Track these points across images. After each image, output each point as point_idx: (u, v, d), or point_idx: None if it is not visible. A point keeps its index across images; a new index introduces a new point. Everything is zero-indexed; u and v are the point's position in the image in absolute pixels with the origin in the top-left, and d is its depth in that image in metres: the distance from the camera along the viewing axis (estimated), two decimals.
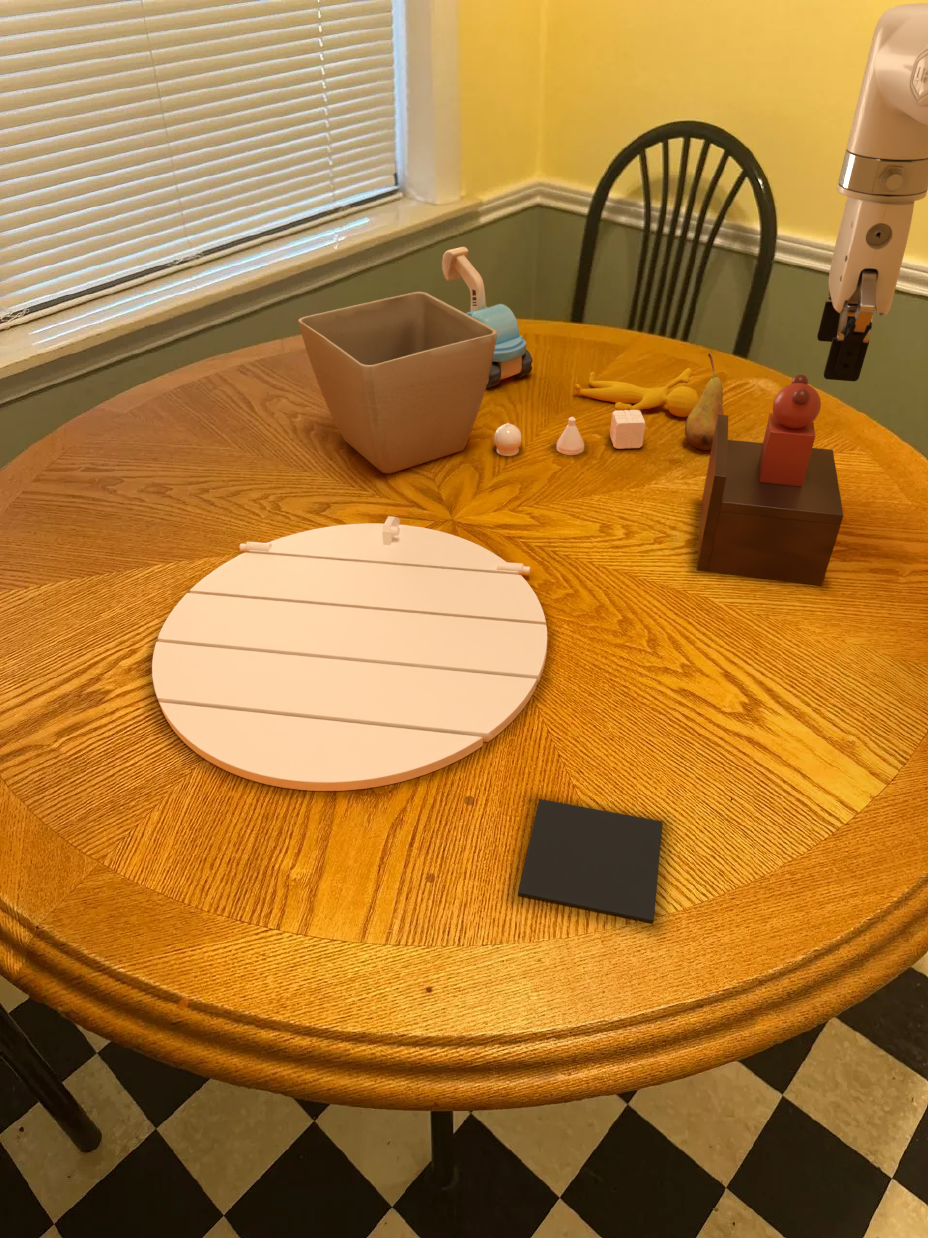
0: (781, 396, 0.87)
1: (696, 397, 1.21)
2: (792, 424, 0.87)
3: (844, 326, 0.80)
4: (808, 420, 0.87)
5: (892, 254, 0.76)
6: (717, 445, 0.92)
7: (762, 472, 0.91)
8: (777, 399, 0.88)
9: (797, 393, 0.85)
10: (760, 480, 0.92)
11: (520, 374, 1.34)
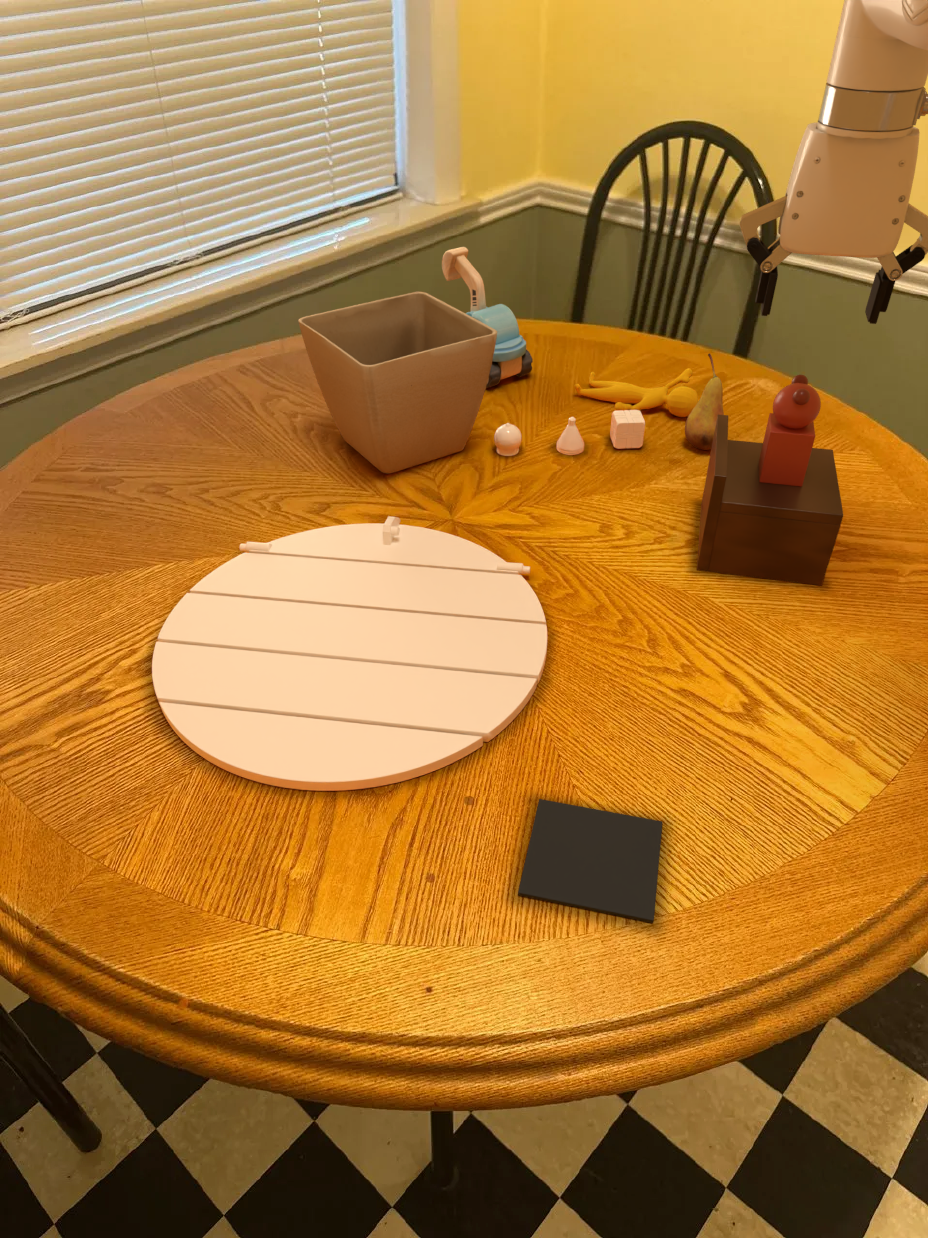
0: (781, 396, 0.87)
1: (696, 397, 1.21)
2: (792, 424, 0.87)
3: (898, 263, 0.77)
4: (808, 420, 0.87)
5: None
6: (717, 445, 0.92)
7: (762, 472, 0.91)
8: (777, 399, 0.88)
9: (797, 393, 0.85)
10: (760, 480, 0.92)
11: (520, 374, 1.34)
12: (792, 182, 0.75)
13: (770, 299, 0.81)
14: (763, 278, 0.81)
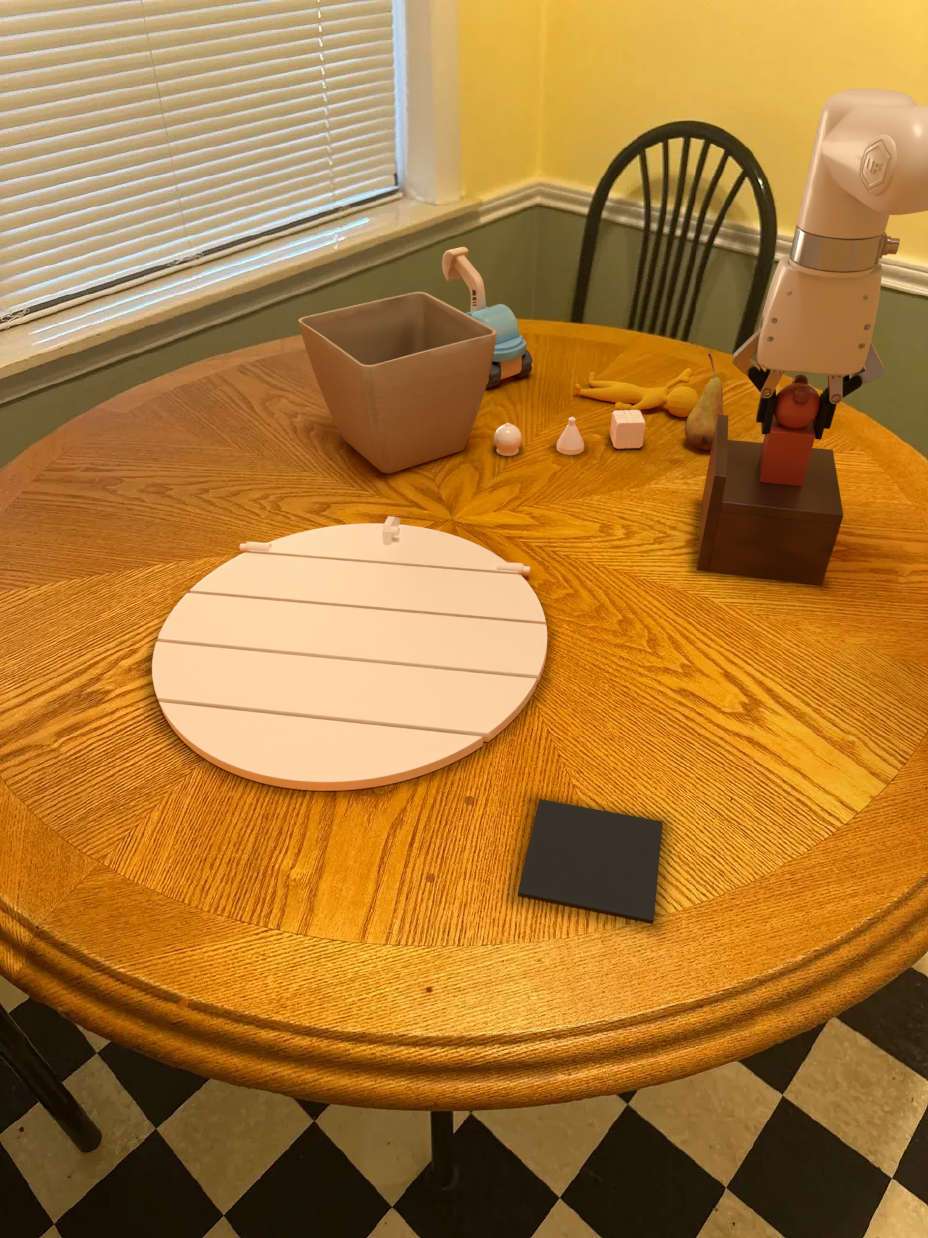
0: (781, 396, 0.87)
1: (696, 397, 1.21)
2: (792, 424, 0.87)
3: None
4: (808, 420, 0.87)
5: None
6: (717, 445, 0.92)
7: (762, 472, 0.91)
8: (778, 398, 0.88)
9: (797, 393, 0.85)
10: (760, 480, 0.92)
11: (520, 374, 1.34)
12: (767, 309, 0.82)
13: (769, 421, 0.88)
14: (763, 402, 0.88)
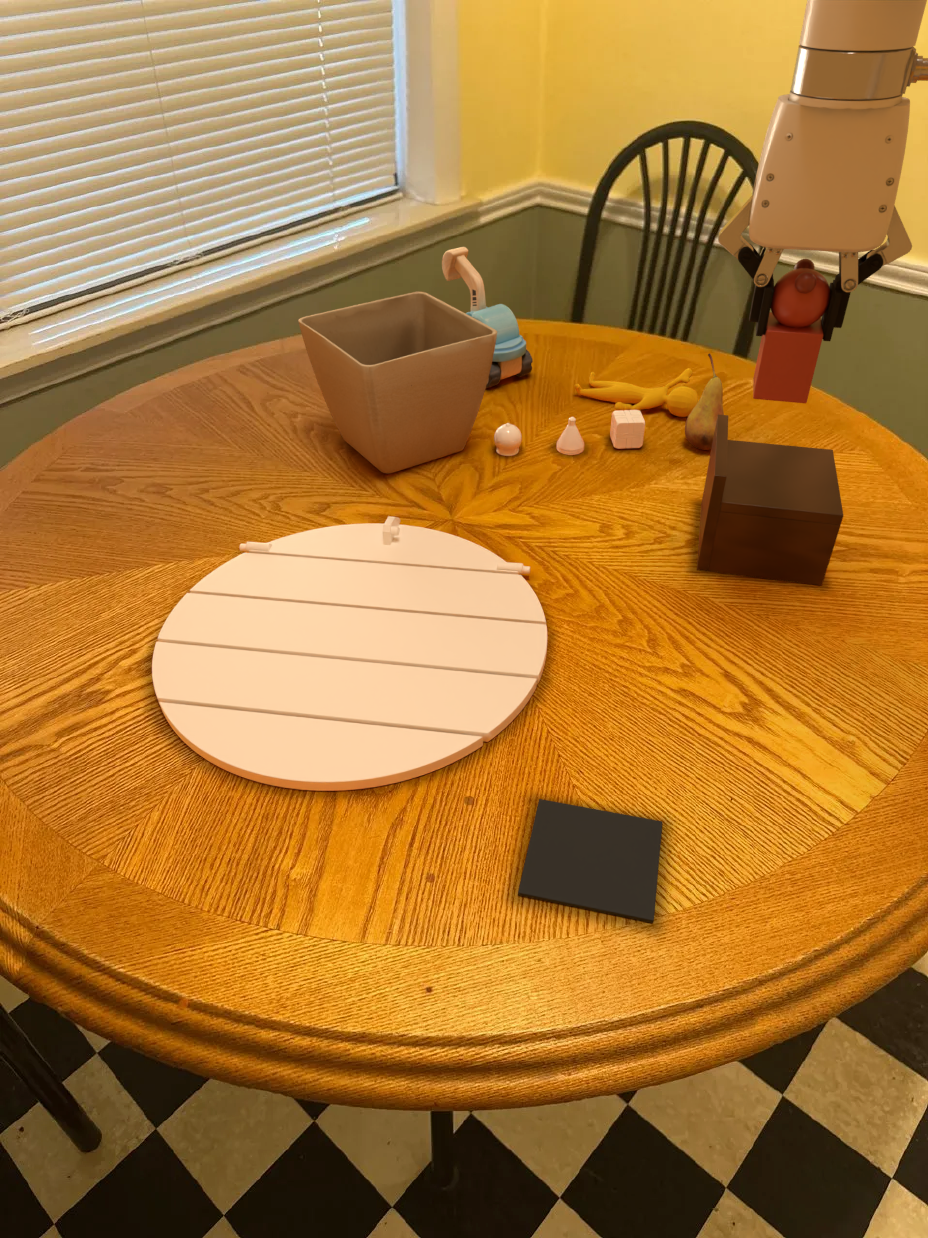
0: (780, 284, 0.69)
1: (696, 397, 1.21)
2: (793, 319, 0.69)
3: None
4: (814, 315, 0.69)
5: None
6: (717, 445, 0.92)
7: (757, 385, 0.73)
8: (776, 288, 0.70)
9: (800, 277, 0.67)
10: (754, 396, 0.74)
11: (520, 374, 1.34)
12: (761, 164, 0.64)
13: (765, 317, 0.70)
14: (757, 293, 0.70)
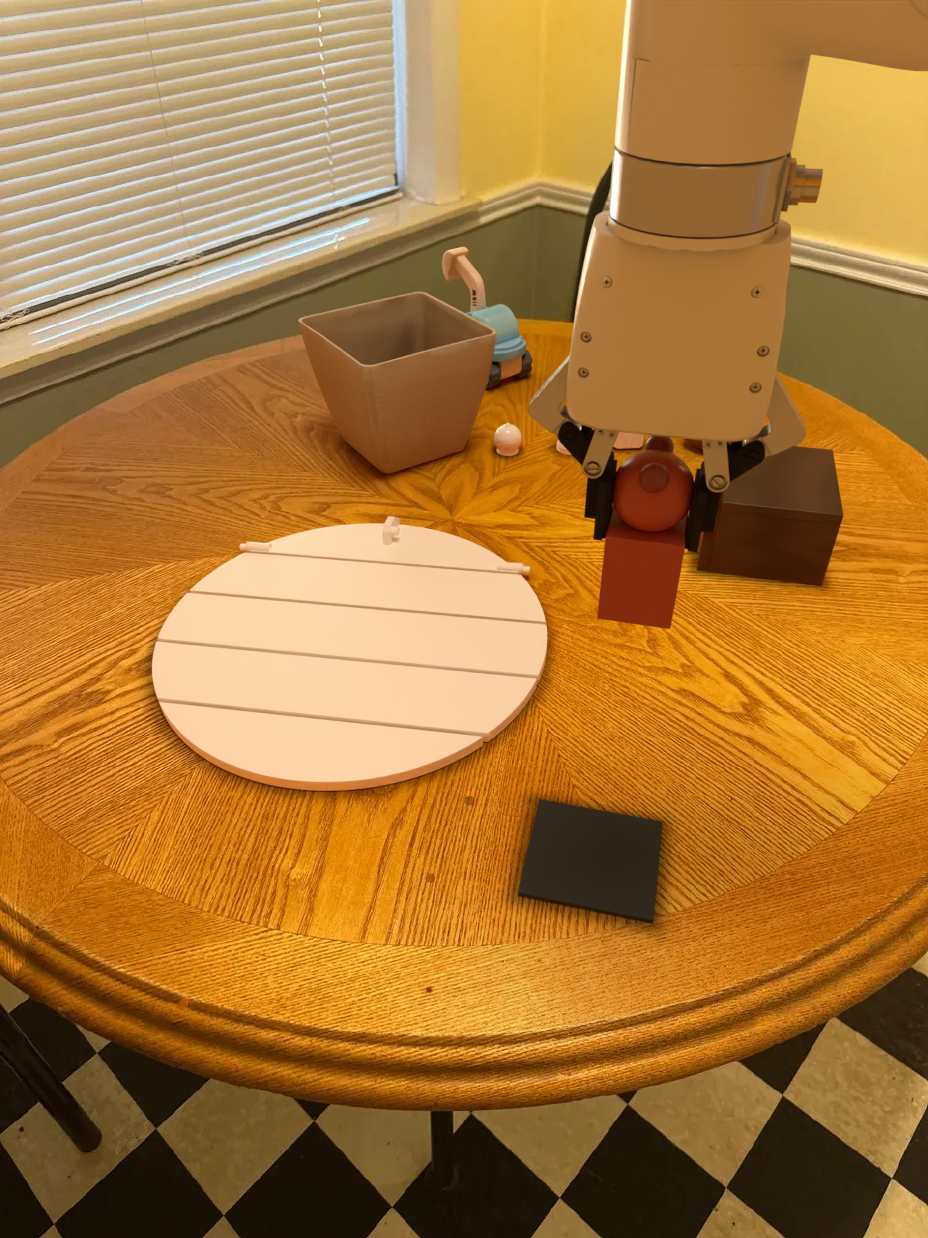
0: (622, 474, 0.47)
1: None
2: (642, 525, 0.48)
3: None
4: (670, 520, 0.47)
5: None
6: None
7: (600, 603, 0.51)
8: (616, 478, 0.48)
9: (644, 472, 0.45)
10: (598, 615, 0.52)
11: (520, 374, 1.34)
12: (575, 315, 0.42)
13: (603, 518, 0.48)
14: (591, 484, 0.48)
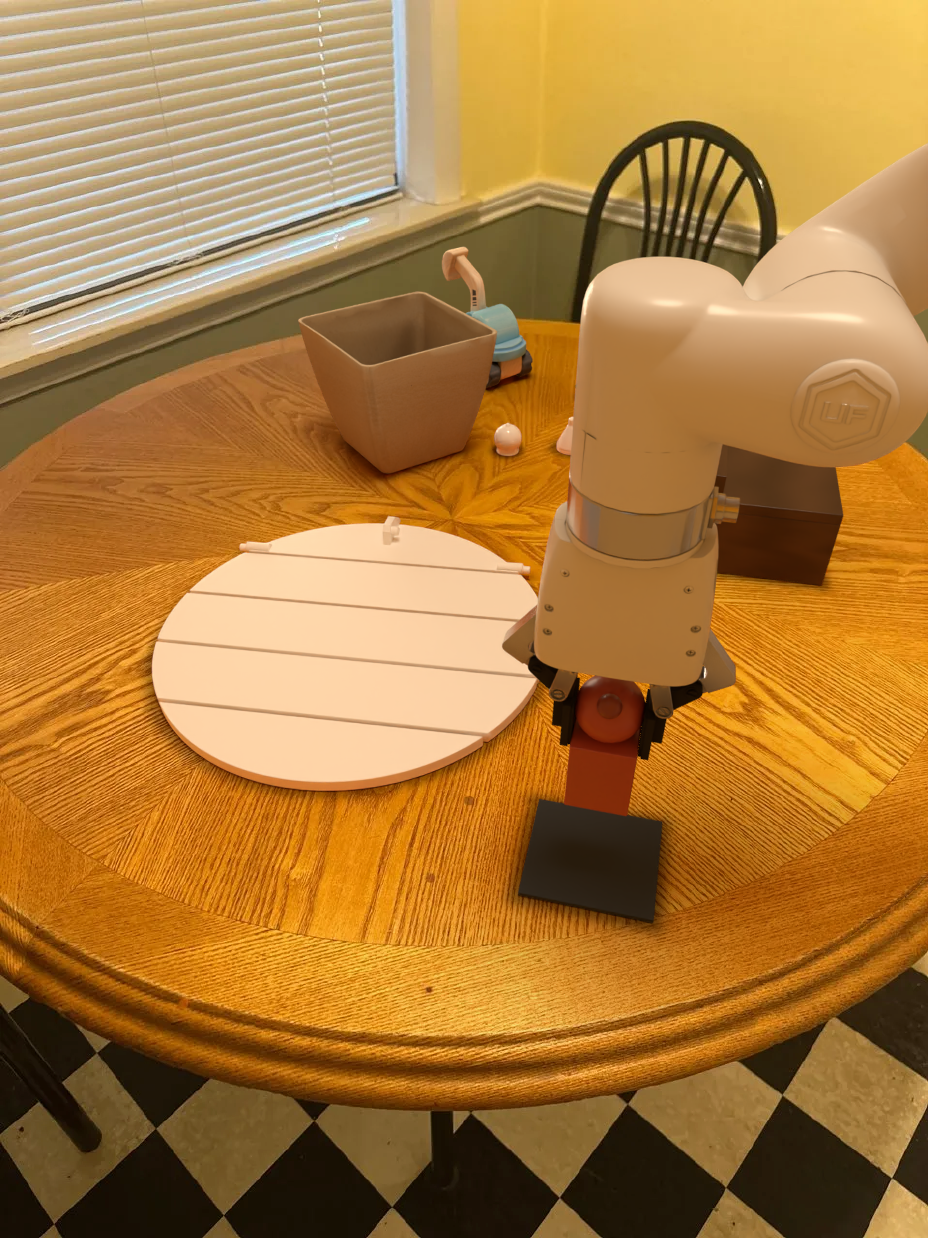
0: (583, 697, 0.55)
1: None
2: (600, 740, 0.55)
3: None
4: (624, 738, 0.55)
5: None
6: None
7: (566, 794, 0.59)
8: (578, 700, 0.56)
9: (601, 704, 0.53)
10: (565, 802, 0.60)
11: (520, 374, 1.34)
12: (540, 586, 0.50)
13: (568, 731, 0.56)
14: (557, 703, 0.56)
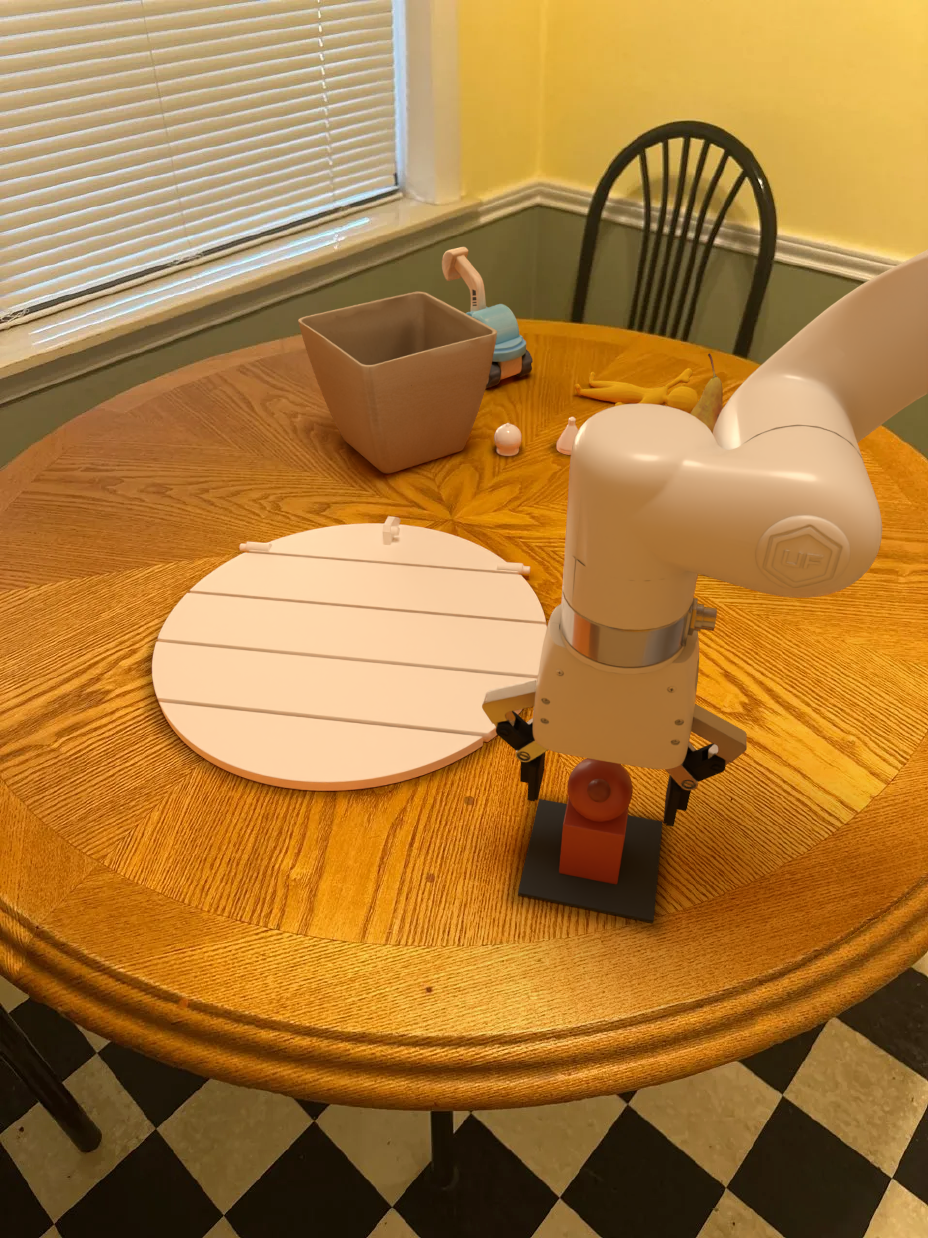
0: (575, 781, 0.60)
1: (696, 397, 1.21)
2: (591, 819, 0.61)
3: (692, 772, 0.57)
4: (612, 817, 0.60)
5: None
6: None
7: (561, 864, 0.65)
8: (571, 782, 0.61)
9: (591, 789, 0.59)
10: (560, 871, 0.65)
11: (520, 374, 1.34)
12: (537, 680, 0.55)
13: (534, 788, 0.61)
14: (523, 762, 0.60)
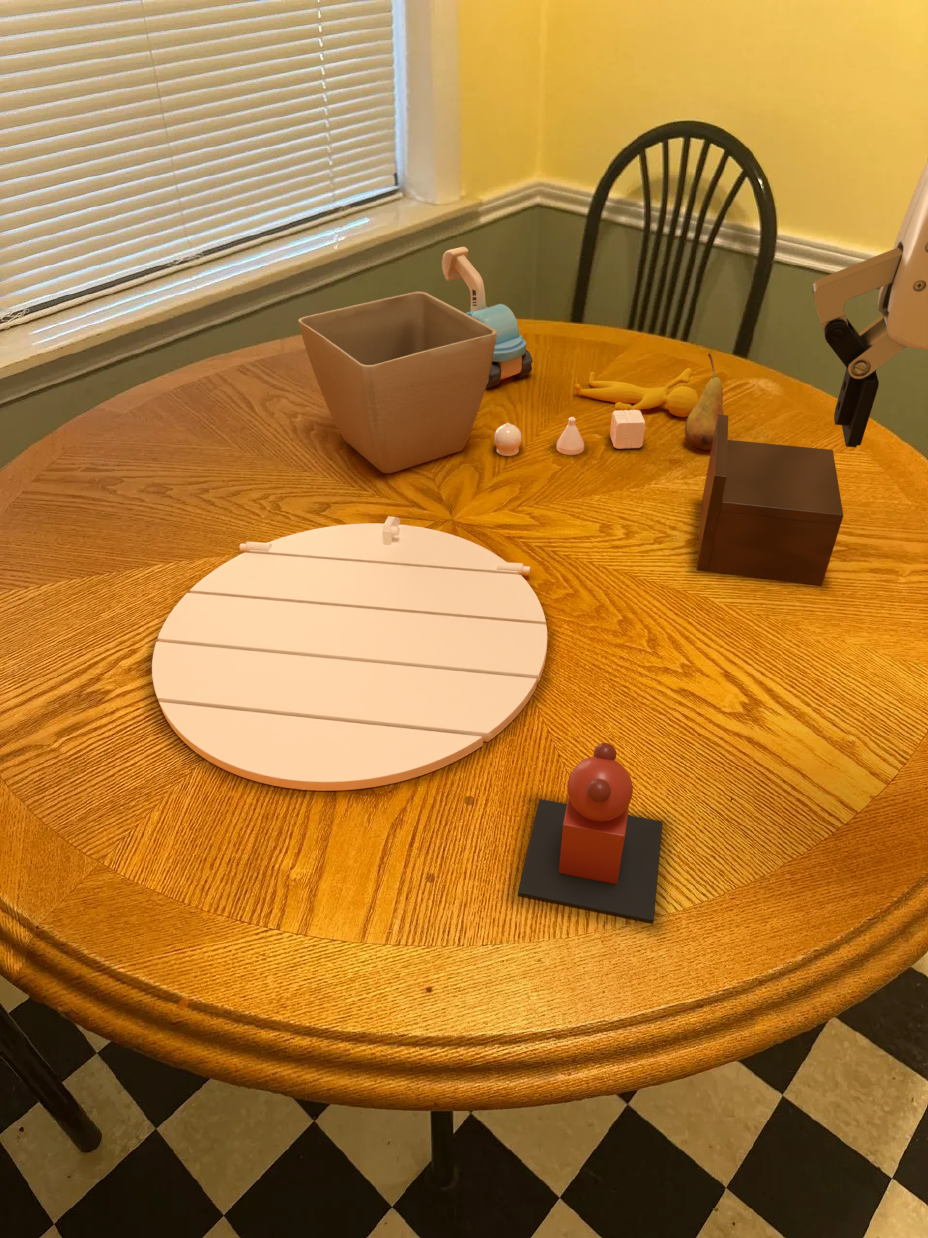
0: (575, 781, 0.60)
1: (696, 397, 1.21)
2: (591, 819, 0.61)
3: None
4: (612, 817, 0.60)
5: None
6: (717, 445, 0.92)
7: (561, 864, 0.65)
8: (571, 782, 0.61)
9: (591, 789, 0.59)
10: (560, 871, 0.65)
11: (520, 374, 1.34)
12: (916, 225, 0.41)
13: (863, 422, 0.47)
14: (851, 386, 0.47)
